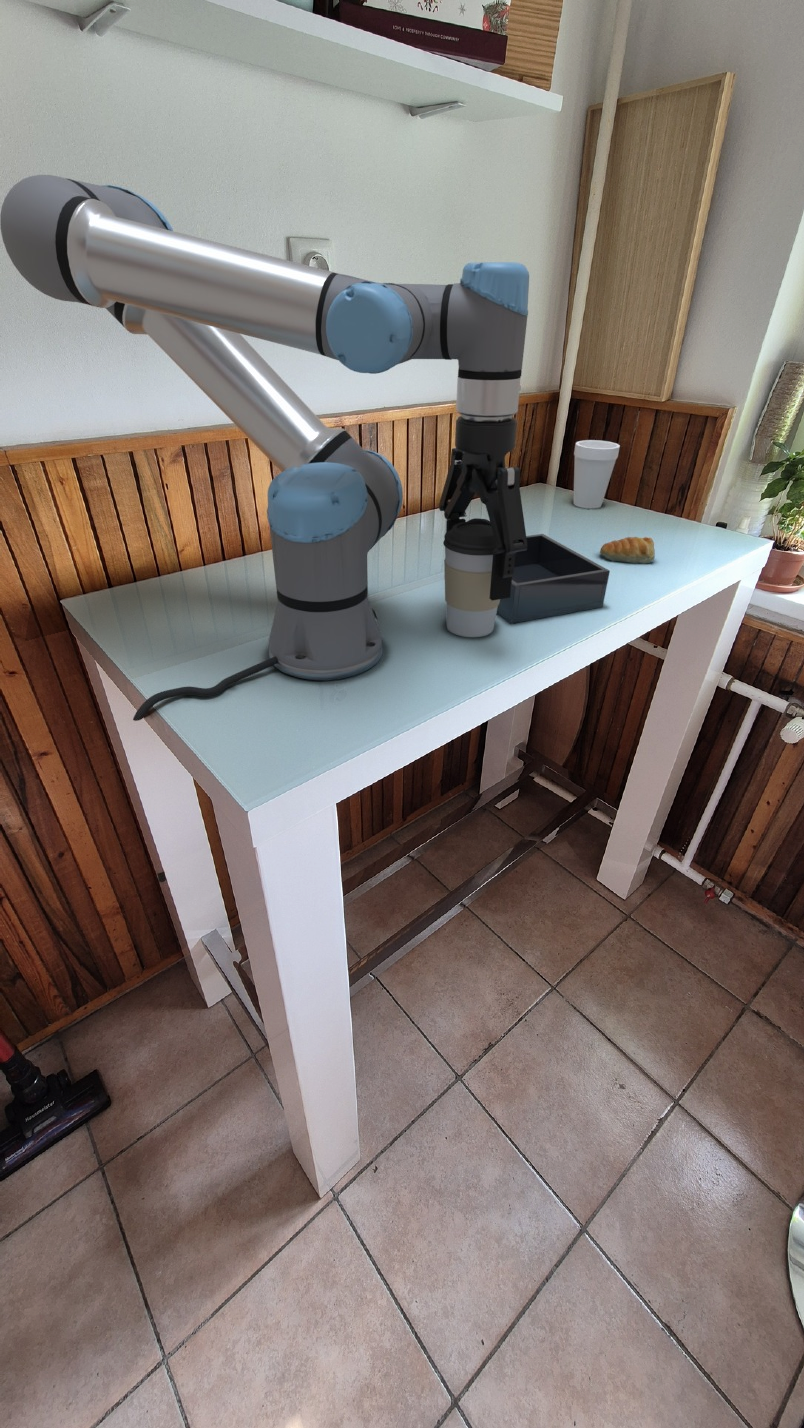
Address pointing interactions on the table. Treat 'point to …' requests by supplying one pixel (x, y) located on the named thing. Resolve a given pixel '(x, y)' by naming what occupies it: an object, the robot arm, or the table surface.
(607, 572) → the dark grey open box
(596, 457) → the foam cup
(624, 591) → the table surface
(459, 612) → the coffee cup
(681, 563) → the table surface
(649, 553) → the pastry
